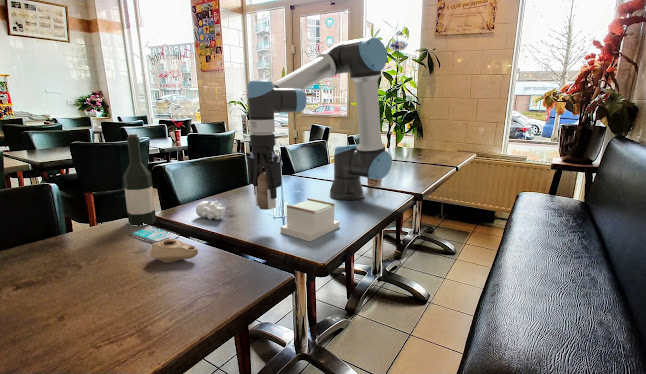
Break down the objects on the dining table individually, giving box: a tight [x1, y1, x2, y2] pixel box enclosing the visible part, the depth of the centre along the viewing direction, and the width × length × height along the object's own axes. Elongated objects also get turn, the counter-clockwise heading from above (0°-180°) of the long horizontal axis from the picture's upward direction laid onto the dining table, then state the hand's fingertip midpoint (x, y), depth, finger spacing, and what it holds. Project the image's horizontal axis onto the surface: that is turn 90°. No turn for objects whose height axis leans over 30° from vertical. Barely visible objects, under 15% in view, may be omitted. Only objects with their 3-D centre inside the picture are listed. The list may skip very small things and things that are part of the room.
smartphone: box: [128, 226, 181, 243], centre depth 108 cm, size 9×1×15 cm
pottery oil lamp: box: [148, 239, 199, 264], centre depth 91 cm, size 9×12×7 cm
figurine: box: [195, 200, 227, 221], centre depth 124 cm, size 7×7×12 cm
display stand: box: [280, 197, 340, 242], centre depth 113 cm, size 16×12×9 cm
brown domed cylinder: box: [257, 172, 273, 211], centre depth 110 cm, size 5×5×11 cm
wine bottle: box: [122, 133, 157, 227], centre depth 116 cm, size 8×8×30 cm
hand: (265, 206), depth 111 cm, fingers closed on brown domed cylinder, 5 cm apart
